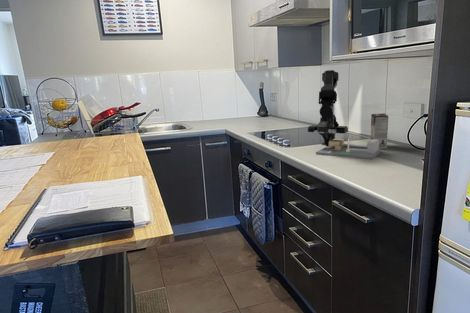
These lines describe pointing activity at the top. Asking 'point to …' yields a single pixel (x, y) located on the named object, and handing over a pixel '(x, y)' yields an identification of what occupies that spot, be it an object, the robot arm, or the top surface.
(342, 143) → the carriage
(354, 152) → the gauge base
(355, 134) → the top surface
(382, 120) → the coffee box
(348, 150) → the needle
